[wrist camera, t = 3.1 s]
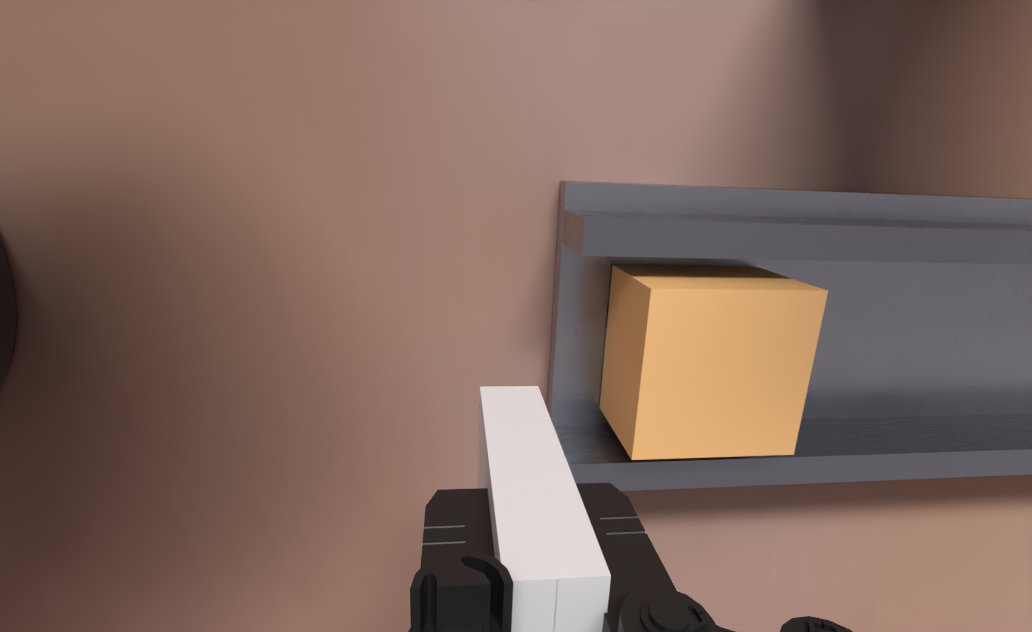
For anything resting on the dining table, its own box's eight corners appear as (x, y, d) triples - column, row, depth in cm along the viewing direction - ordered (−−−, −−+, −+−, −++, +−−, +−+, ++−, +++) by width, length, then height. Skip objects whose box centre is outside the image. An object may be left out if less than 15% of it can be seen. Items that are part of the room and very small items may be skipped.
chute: (543, 459, 23) (561, 517, 20) (560, 180, 20) (586, 185, 16) (1144, 439, 27) (1256, 484, 24) (1240, 207, 24) (1390, 215, 20)
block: (599, 407, 22) (631, 459, 18) (612, 264, 20) (651, 288, 16) (735, 404, 22) (793, 454, 19) (758, 267, 21) (828, 290, 17)
